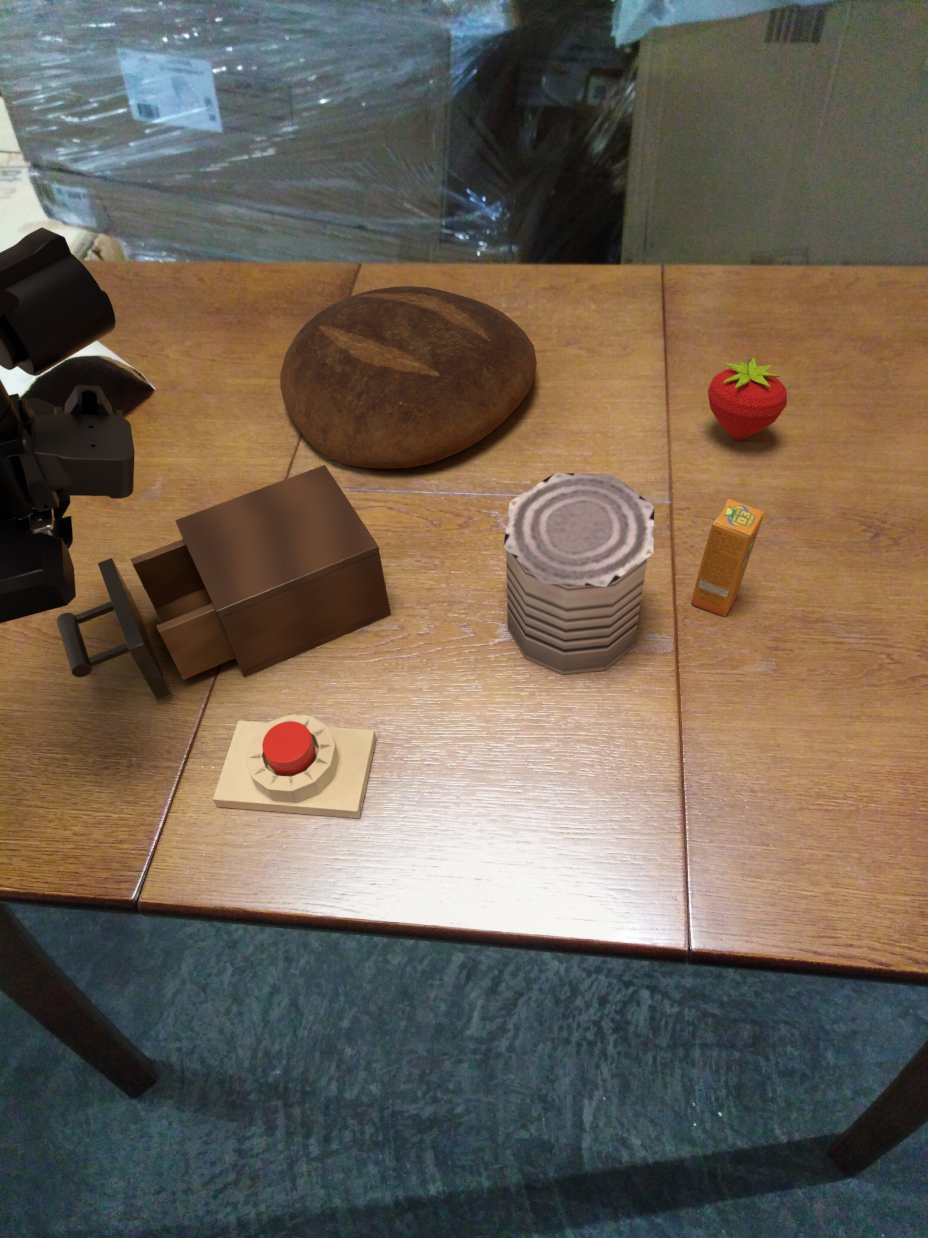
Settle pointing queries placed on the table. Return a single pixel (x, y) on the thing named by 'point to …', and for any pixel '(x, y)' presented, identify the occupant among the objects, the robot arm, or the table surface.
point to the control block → (315, 790)
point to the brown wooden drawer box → (287, 568)
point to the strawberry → (746, 398)
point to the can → (576, 570)
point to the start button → (288, 747)
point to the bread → (404, 376)
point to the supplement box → (726, 557)
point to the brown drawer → (179, 610)
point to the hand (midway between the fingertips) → (66, 589)
